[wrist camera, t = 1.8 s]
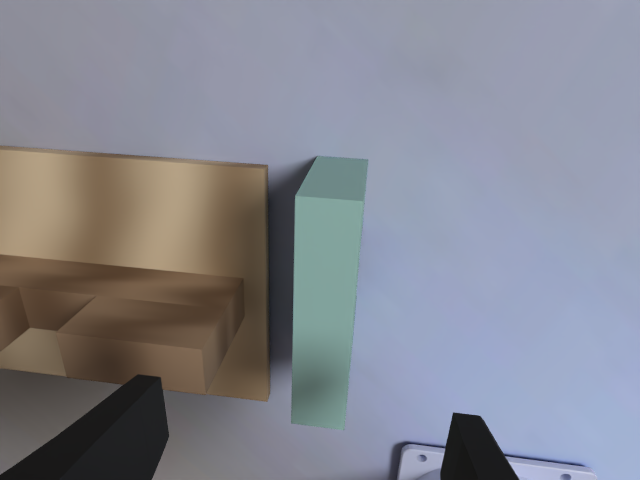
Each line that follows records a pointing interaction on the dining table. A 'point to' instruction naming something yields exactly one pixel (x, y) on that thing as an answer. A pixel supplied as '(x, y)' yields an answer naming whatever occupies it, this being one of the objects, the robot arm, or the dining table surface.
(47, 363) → the slotted board
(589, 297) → the dining table surface
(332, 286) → the mint green block
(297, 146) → the dining table surface
